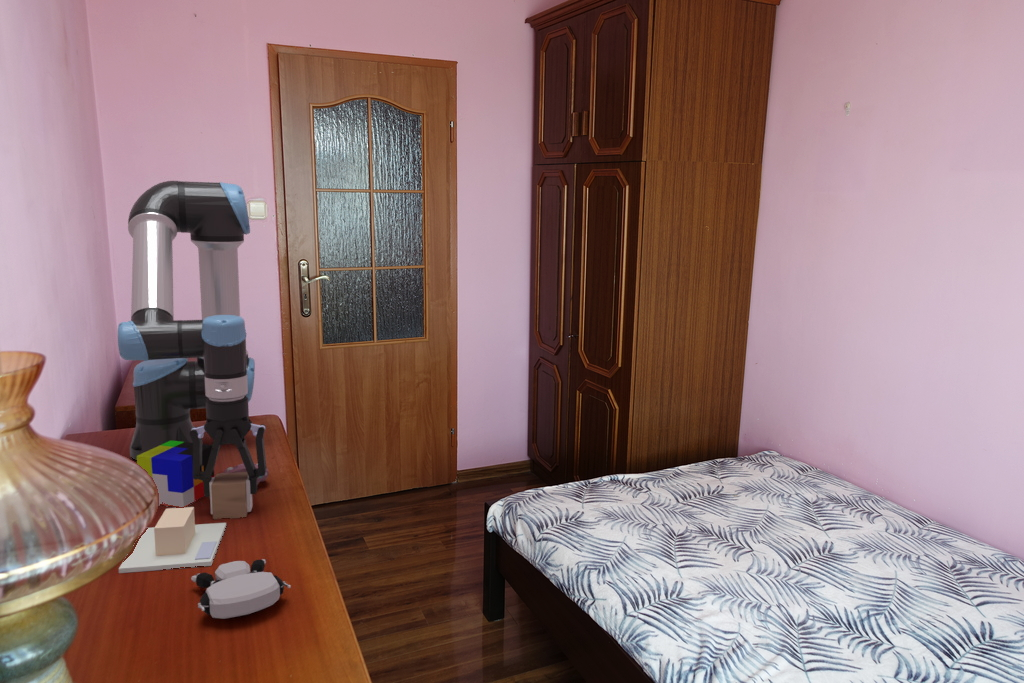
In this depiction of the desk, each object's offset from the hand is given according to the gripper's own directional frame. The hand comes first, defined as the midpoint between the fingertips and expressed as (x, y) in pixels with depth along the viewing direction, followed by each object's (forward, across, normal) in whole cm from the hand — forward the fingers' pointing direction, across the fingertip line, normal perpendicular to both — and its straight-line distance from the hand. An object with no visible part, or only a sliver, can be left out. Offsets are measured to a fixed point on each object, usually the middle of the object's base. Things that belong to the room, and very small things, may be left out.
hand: (232, 509), depth 136 cm
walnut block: (0, 0, 0) cm, 0 cm away
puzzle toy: (+1, -12, +10) cm, 16 cm away
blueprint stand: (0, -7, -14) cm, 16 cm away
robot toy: (+1, +6, -33) cm, 34 cm away
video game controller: (+1, +1, +13) cm, 13 cm away
